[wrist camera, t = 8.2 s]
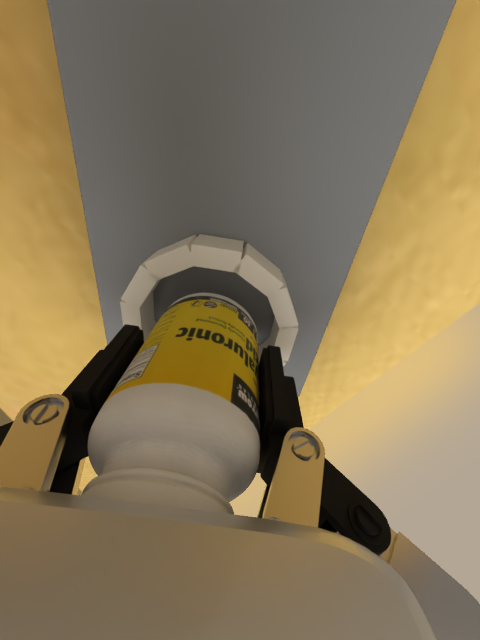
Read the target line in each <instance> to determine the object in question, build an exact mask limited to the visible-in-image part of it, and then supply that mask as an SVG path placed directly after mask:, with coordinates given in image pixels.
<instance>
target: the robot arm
mask: <svg viewBox="0 0 480 640" xmlns="http://www.w3.org/2000/svg"><path fill="white" fill-rule="evenodd" d="M143 344H144V334H143V330H141V329H140V328H139V326H135V325H128V324H125V325H124V326H123V327H122V328H121V330H120V331H119V332H118V333H117V334H116V336H115V337H114V338H113V339H112V340H111V342H110V343H109V344H108V345H107V346H106V348H105V349H104V350H100V351H99V352H98V353H97V354H96V355H95V356H94V357H93V359H92V360H91V361H90V362H89V363H88V364H87V366H86V367H85V368H84V369H83V370H82V371H81V372H80V374H79V375H78V376H77V377H76V378H75V379H74V381H73V382H72V383H71V384H70V385H69V386H68V388H67V389H66V390H65V391H64V392H63V393H62V395H59V394H49V395H44V396H41V397H38V398H36V399H34V400H32V401H30V402H29V403H27V404H26V405H25V406H24V407H23V408H22V409H21V410H20V412H19V413H18V415H17V416H16V418H15V420H14V421H13V422H11V423H8V424H5V425H3V426H0V640H480V604H479V603H478V601H477V600H476V599H475V598H474V597H473V596H472V595H471V594H470V593H469V592H468V591H467V590H466V589H465V588H464V587H463V586H462V585H460V584H459V583H458V582H457V581H456V580H455V579H454V578H452V577H451V576H450V575H449V574H448V573H446V572H445V571H444V570H443V569H442V568H441V567H440V566H439V565H437V564H436V563H435V562H434V561H433V560H432V559H430V558H429V557H428V556H427V555H426V554H425V553H424V552H422V551H421V550H420V549H419V548H418V547H417V546H415V545H414V544H413V543H412V542H411V541H410V540H409V539H407V538H406V537H405V536H404V535H403V534H402V533H400V532H398V533H396V532H394V531H393V530H392V529H391V528H390V527H389V524H388V521H387V519H386V518H385V516H384V515H383V513H382V511H381V510H380V509H379V508H378V507H377V506H376V505H375V504H374V503H373V502H372V501H371V500H370V499H369V498H368V497H367V496H366V495H364V494H363V493H362V492H361V491H360V490H359V489H358V488H357V487H356V486H355V485H354V484H352V482H350V481H349V480H348V479H347V478H346V477H345V476H344V475H343V474H342V473H341V472H340V471H338V470H337V469H336V468H335V467H334V466H333V465H332V464H331V463H330V462H329V461H328V460H327V459H325V450H324V447H323V444H322V442H321V440H320V439H319V438H318V436H317V435H315V434H314V433H313V432H312V431H310V430H308V429H305V428H304V427H303V422H302V417H301V412H300V406H299V401H298V396H297V390H296V385H295V380H294V378H293V377H290V376H284V370H283V363H282V356H281V349H280V347H278V346H271V345H268V346H267V348H263V350H262V354H261V358H260V362H259V403H260V459H259V465H258V469H257V472H256V473H261V478H262V479H263V480H264V481H265V483H266V486H265V490H264V494H263V497H262V501H261V504H260V508H259V511H258V515H257V518H256V517H248V516H240V515H233V514H225V513H217V512H209V511H202V510H194V509H186V508H178V507H170V506H162V505H154V504H146V503H138V502H130V501H121V500H113V499H105V498H97V497H88V496H80V495H77V493H78V489H79V484H80V480H81V476H82V471H83V467H84V462H85V458H86V457H87V456H89V455H88V437H89V433H90V429H91V427H92V425H93V423H94V421H95V419H96V417H97V415H98V413H99V411H100V410H101V408H102V406H103V404H104V403H105V401H106V400H107V398H108V397H109V395H110V394H111V392H112V391H113V390H114V388H115V386H116V385H117V383H118V382H119V380H120V379H121V377H122V376H123V374H124V373H125V371H126V370H127V368H128V366H129V365H130V363H131V362H132V360H133V359H134V357H135V356H136V354H137V353H138V351H139V350H140V348H141V347H142V345H143Z"/></svg>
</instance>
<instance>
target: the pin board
mask: <svg viewBox="0 0 480 640" xmlns="http://www.w3.org/2000/svg"><path fill="white" fill-rule="evenodd" d="M455 2H456V0H47V3H48V9H49V15H50V20H51V26H52V32H53V37H54V43H55V49H56V55H57V60H58V66H59V72H60V77H61V83H62V89H63V94H64V100H65V106H66V111H67V117H68V123H69V128H70V134H71V140H72V146H73V151H74V157H75V163H76V168H77V174H78V180H79V185H80V191H81V197H82V202H83V208H84V214H85V219H86V225H87V231H88V236H89V242H90V248H91V254H92V259H93V265H94V271H95V276H96V282H97V288H98V293H99V299H100V305H101V310H102V316H103V322H104V327H105V333H106V339H107V345H108V344H109V343H110V342H111V340H112V339H113V338H114V337H115V336H116V334H117V333H118V332H119V331H120V330H121V328H122V327H123V326H124V325H125V324H128V325H135V326H139V328H140V329H141V330H143V334H144V342H145V340H146V339H147V338H148V336H149V334H150V333H151V331H152V330H153V328H154V327H155V325H156V324H157V322H158V321H159V319H160V318H161V316H162V315H163V314H164V312H165V311H166V310H167V309H168V307H169V306H171V305H172V304H173V303H174V302H175V301H177V300H179V299H180V298H182V297H185V296H187V295H190V294H195V293H214V294H218V295H222V296H225V297H228V298H230V299H232V300H233V301H235V302H237V303H238V304H239V305H241V306H242V307H243V308H244V309H245V310H246V311H247V312H248V313H249V315H250V316H251V318H252V319H253V321H254V324H255V326H256V329H257V334H258V345H259V362H260V358H261V354H262V350H263V348H267V346H268V345H271V346H278V347H280V349H281V356H282V363H283V370H284V376H290V377H293V378H294V380H295V385H296V390H297V396H299V395H300V393H301V390H302V388H303V385H304V383H305V380H306V378H307V375H308V373H309V370H310V368H311V365H312V363H313V360H314V358H315V355H316V353H317V350H318V348H319V345H320V343H321V340H322V338H323V335H324V333H325V330H326V327H327V325H328V322H329V320H330V317H331V315H332V312H333V310H334V307H335V305H336V302H337V300H338V297H339V295H340V292H341V290H342V287H343V285H344V282H345V280H346V277H347V275H348V272H349V270H350V267H351V264H352V262H353V259H354V257H355V254H356V252H357V249H358V247H359V244H360V242H361V239H362V237H363V234H364V232H365V229H366V227H367V224H368V222H369V219H370V217H371V214H372V212H373V209H374V207H375V204H376V202H377V199H378V196H379V194H380V191H381V189H382V186H383V184H384V181H385V179H386V176H387V174H388V171H389V169H390V166H391V164H392V161H393V159H394V156H395V154H396V151H397V149H398V146H399V144H400V141H401V139H402V136H403V133H404V131H405V128H406V126H407V123H408V121H409V118H410V116H411V113H412V111H413V108H414V106H415V103H416V101H417V98H418V96H419V93H420V91H421V88H422V86H423V83H424V81H425V78H426V76H427V73H428V71H429V68H430V65H431V63H432V60H433V58H434V55H435V53H436V50H437V48H438V45H439V43H440V40H441V38H442V35H443V33H444V30H445V28H446V25H447V23H448V20H449V18H450V15H451V13H452V10H453V8H454V5H455Z"/></svg>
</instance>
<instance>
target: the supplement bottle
mask: <svg viewBox="0 0 480 640" xmlns="http://www.w3.org/2000/svg"><path fill="white" fill-rule="evenodd" d="M88 455H89V459H90V462H91V465H92V467H93V469H94V471H95V472H96V474H97V475H98V477H95V478H94V479H92V480H91V481H90V482H89V483H88V484H87V486H86V487H85V488H84V490H83V493H82V495H81V496H88V497H97V498H105V499H113V500H121V501H130V502H138V503H146V504H154V505H162V506H170V507H178V508H186V509H194V510H202V511H209V512H217V513H225V514H233V515H234V512H233V509H232V507H231V505H230V503H229V502H230V501H232V500H233V499H235V498H236V497H238V496H239V495H240V494H241V493H243V492H244V491H245V490H246V488H248V486H249V485H250V484H251V482H252V480H253V479H254V477H255V475H256V472H257V469H258V465H259V459H260V403H259V345H258V334H257V329H256V326H255V324H254V321H253V319H252V318H251V316H250V315H249V313H248V312H247V311H246V310H245V309H244V308H243V307H242V306H241V305H239V304H238V303H237V302H235V301H233V300H232V299H230V298H228V297H225V296H222V295H218V294H214V293H195V294H190V295H187V296H185V297H182V298H180V299H179V300H177V301H175V302H174V303H173V304H172V305H171V306H169V307H168V309H167V310H166V311H165V312H164V314H163V315H162V316H161V318H160V319H159V321H158V322H157V324H156V325H155V327H154V328H153V330H152V331H151V333H150V334H149V336H148V338H147V339H146V340H145V342H144V344H143V345H142V347H141V348H140V350H139V351H138V353H137V354H136V356H135V357H134V359H133V360H132V362H131V363H130V365H129V366H128V368H127V370H126V371H125V373H124V374H123V376H122V377H121V379H120V380H119V382H118V383H117V385H116V386H115V388H114V390H113V391H112V392H111V394H110V395H109V397H108V398H107V400H106V401H105V403H104V404H103V406H102V408H101V410H100V411H99V413H98V415H97V417H96V419H95V421H94V423H93V425H92V427H91V429H90V433H89V437H88Z"/></svg>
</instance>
